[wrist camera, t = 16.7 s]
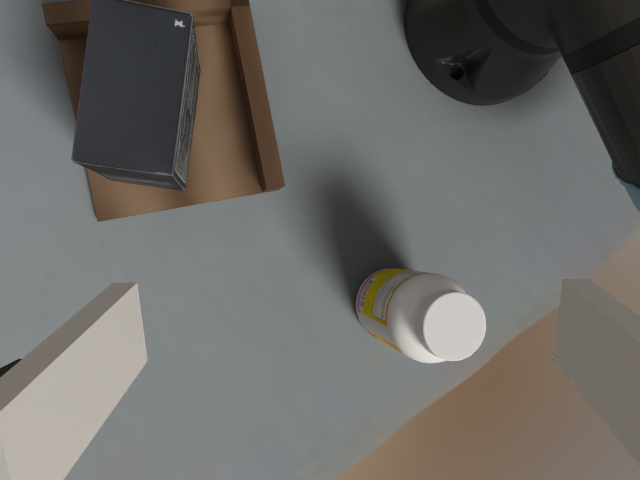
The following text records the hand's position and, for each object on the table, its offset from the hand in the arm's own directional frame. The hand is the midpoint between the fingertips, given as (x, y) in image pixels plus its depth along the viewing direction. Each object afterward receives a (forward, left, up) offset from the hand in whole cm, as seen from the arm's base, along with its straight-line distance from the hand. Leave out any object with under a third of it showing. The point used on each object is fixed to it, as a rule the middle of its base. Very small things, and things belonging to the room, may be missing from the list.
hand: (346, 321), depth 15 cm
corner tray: (+5, -14, -28) cm, 32 cm away
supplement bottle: (-11, +6, -28) cm, 31 cm away
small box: (+6, -14, -28) cm, 31 cm away
